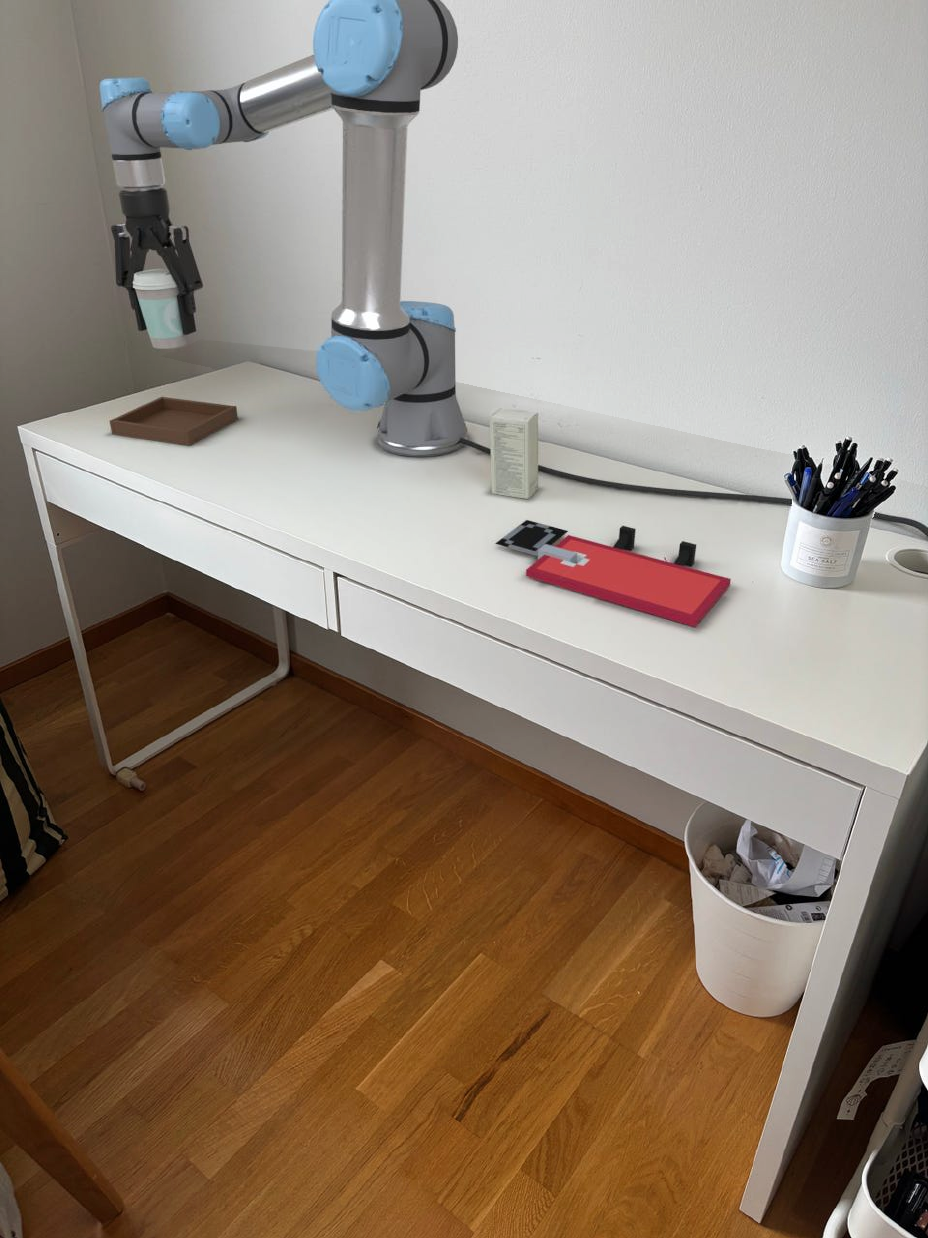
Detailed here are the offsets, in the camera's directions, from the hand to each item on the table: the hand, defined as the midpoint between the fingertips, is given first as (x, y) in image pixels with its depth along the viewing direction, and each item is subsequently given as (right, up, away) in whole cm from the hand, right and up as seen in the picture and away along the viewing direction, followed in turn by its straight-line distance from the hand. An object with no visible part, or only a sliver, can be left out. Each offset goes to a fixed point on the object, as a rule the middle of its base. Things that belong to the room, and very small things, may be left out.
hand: (167, 330), depth 165 cm
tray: (-1, -15, +7) cm, 17 cm away
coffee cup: (0, -2, +1) cm, 3 cm away
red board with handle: (+69, -44, -42) cm, 92 cm away
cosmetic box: (+59, -31, -20) cm, 69 cm away
